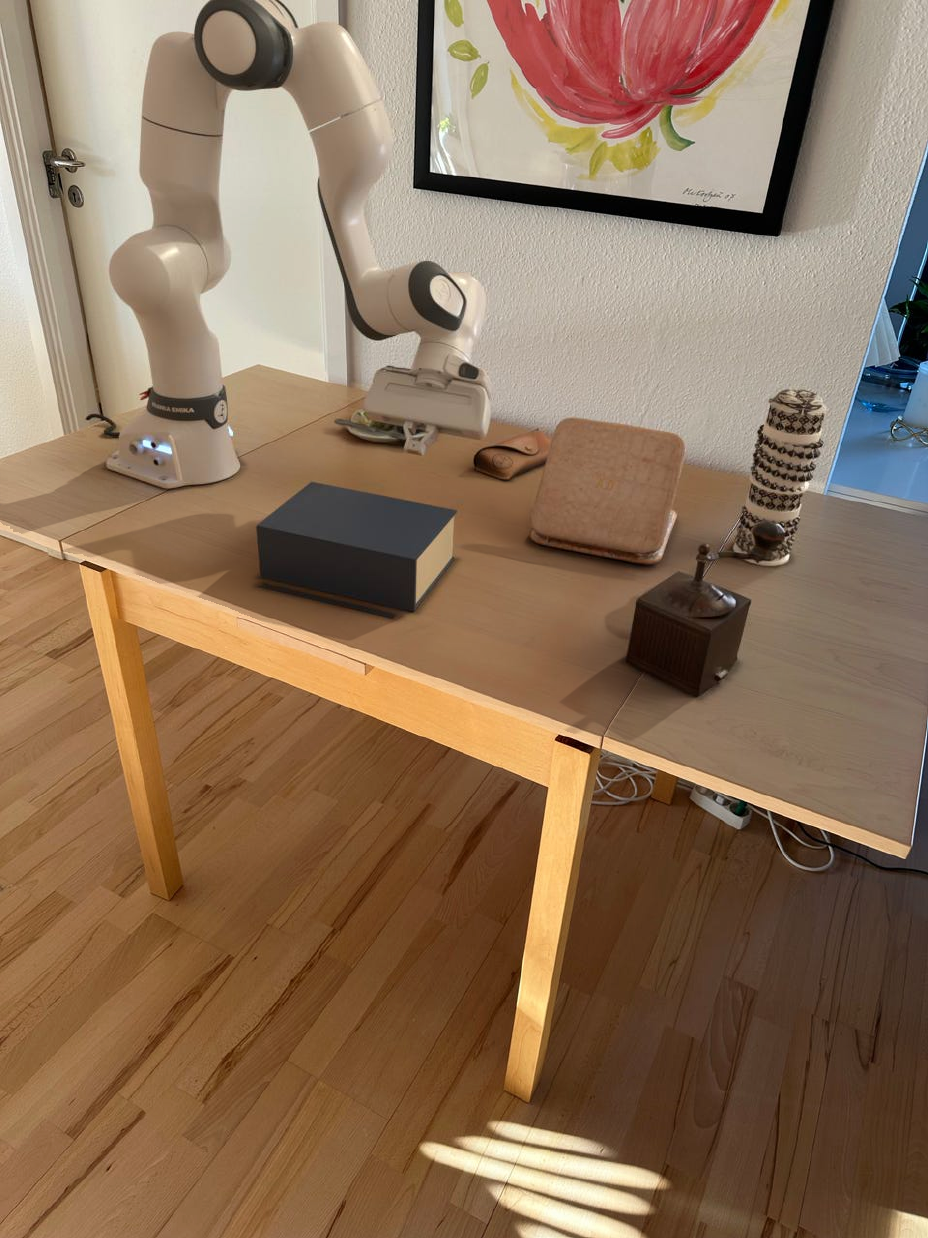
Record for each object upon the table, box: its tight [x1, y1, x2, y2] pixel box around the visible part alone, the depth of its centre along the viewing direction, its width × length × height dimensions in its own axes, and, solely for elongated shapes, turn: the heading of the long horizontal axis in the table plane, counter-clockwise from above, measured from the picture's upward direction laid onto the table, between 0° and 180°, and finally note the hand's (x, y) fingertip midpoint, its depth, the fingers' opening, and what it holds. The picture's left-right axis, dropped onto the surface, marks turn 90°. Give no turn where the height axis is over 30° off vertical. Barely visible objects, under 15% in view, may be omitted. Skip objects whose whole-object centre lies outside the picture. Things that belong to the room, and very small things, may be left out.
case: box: [529, 417, 687, 566], centre depth 139 cm, size 20×21×16 cm
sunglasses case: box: [472, 427, 552, 481], centre depth 164 cm, size 18×7×7 cm, turn 139°
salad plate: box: [333, 408, 427, 446], centre depth 174 cm, size 19×18×5 cm
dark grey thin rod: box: [258, 582, 397, 619], centre depth 121 cm, size 20×1×1 cm, turn 70°
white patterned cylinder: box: [732, 388, 829, 567], centre depth 132 cm, size 9×9×25 cm
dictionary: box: [255, 481, 458, 613], centre depth 127 cm, size 23×16×8 cm
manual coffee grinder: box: [625, 521, 785, 697], centre depth 109 cm, size 16×11×18 cm
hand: (413, 453), depth 140 cm, fingers closed
